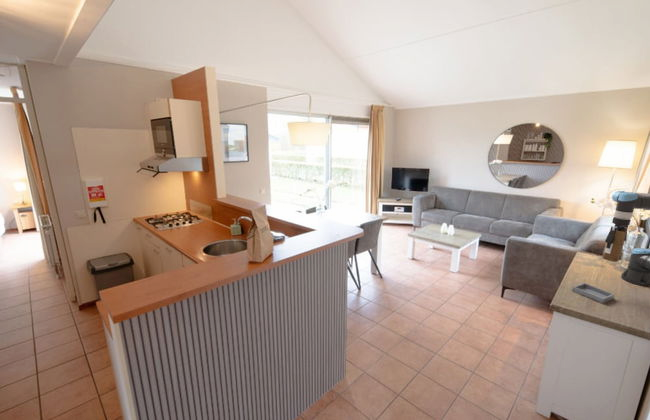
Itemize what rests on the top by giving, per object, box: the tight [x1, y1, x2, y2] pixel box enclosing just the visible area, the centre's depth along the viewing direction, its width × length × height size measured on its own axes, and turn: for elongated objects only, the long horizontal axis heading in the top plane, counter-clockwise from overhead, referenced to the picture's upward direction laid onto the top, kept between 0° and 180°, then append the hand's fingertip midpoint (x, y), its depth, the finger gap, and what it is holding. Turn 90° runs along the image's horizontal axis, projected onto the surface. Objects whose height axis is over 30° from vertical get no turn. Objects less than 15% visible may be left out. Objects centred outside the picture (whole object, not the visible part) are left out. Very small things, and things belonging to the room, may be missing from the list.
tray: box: [571, 282, 615, 304], centre depth 183 cm, size 13×16×3 cm
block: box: [602, 230, 626, 263], centre depth 181 cm, size 11×8×20 cm
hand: (612, 251), depth 183 cm, fingers closed on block, 11 cm apart
